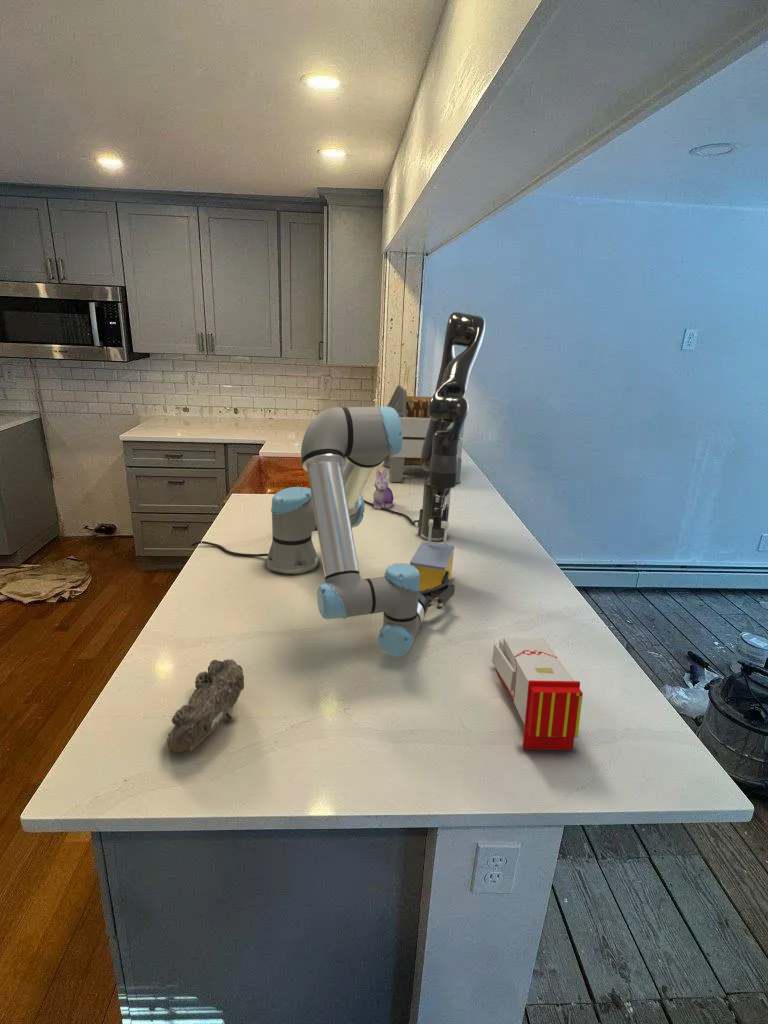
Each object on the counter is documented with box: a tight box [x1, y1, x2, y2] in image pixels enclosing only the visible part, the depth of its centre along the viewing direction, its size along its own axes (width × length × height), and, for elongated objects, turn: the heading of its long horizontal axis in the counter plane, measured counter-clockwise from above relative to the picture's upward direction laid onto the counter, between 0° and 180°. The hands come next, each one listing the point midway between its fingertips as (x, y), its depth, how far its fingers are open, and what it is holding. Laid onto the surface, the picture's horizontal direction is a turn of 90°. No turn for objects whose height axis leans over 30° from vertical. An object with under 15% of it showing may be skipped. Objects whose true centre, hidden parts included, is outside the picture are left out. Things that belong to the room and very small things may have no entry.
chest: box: [412, 549, 455, 600], centre depth 161 cm, size 15×10×10 cm, turn 164°
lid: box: [409, 519, 456, 570], centre depth 158 cm, size 16×10×9 cm, turn 164°
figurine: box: [372, 468, 394, 510], centre depth 225 cm, size 9×10×15 cm
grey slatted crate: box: [382, 384, 465, 484], centre depth 268 cm, size 34×33×41 cm
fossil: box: [166, 658, 245, 754], centre depth 106 cm, size 22×10×15 cm
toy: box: [491, 637, 584, 751], centre depth 115 cm, size 12×13×30 cm
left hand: (428, 572), depth 156 cm, fingers closed on chest, 10 cm apart
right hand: (439, 523), depth 162 cm, fingers open, 8 cm apart
